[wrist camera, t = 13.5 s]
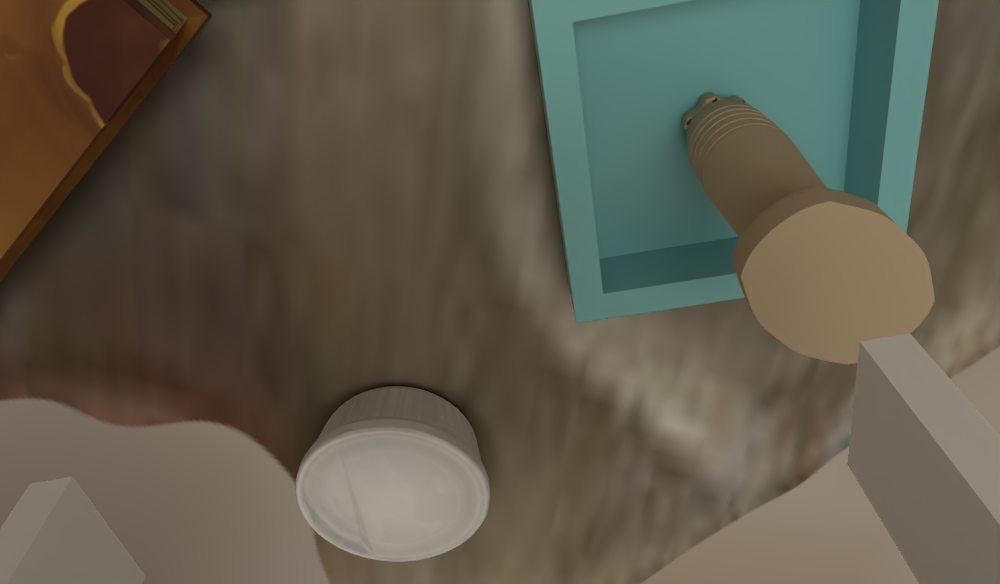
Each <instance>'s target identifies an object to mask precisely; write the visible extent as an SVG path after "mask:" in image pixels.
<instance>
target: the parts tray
mask: <svg viewBox="0 0 1000 584" xmlns="http://www.w3.org/2000/svg"><path fill="white" fill-rule="evenodd" d="M938 2H939V0H528V4H529V11H530V18H531V25H532V32H533V39H534V46H535V53H536V60H537V67H538V74H539V81H540V88H541V95H542V102H543V109H544V117H545V124H546V131H547V138H548V145H549V152H550V159H551V166H552V173H553V180H554V187H555V194H556V201H557V208H558V215H559V222H560V229H561V237H562V244H563V251H564V258H565V265H566V272H567V279H568V284H569V289H570V294H571V299H572V304H573V309H574V314H575V319H576V323H582V322H588V321H595V320H602V319H608V318H615V317H621V316H628V315H634V314H641V313H647V312H654V311H660V310H667V309H673V308H680V307H686V306H693V305H699V304H706V303H712V302H719V301H726V300H732V299H739V298H745V296H744V294H743V291H742V289H741V286H740V283H739V280H738V277H737V274H736V271H735V268H734V265H733V261H732V256H733V252H734V249H735V246H736V244H737V242H738V240H739V237H738V235H737V234H736V233H735V231H734V230H733V229H732V227H731V226H730V225H729V224H728V222H727V221H726V220H725V218H724V217H723V216H722V214H721V213H720V212H719V210H718V209H717V208H716V207H715V205H714V204H713V203H712V201H711V200H710V199H709V197H708V196H707V194H706V192H705V190H704V189H703V187H702V185H701V183H700V181H699V179H698V178H697V175H696V173H695V171H694V168H693V166H692V163H691V161H690V158H689V154H688V150H687V141H686V138H687V132H686V130H685V129H684V126H683V124H682V119H683V116H684V114H685V112H687V111H690V110H692V109H693V108H694V107H695V106H696V105H697V104H698V103H699V101H700V99H701V96H702V95H704V94H706V93H709V92H712V93H713V94H715V95H717V96H720V97H731V96H734V95H735V96H738V97H740V98H742V99H744V100H745V101H747V102H748V103H749V104H750V105H751V106H753V107H754V108H756V109H757V110H759V111H760V112H761V113H763V114H764V115H765V116H766V117H768V118H769V119H770V120H771V121H773V122H774V123H775V124H776V125H777V126H778V127H779V128H780V129H781V130H782V131H783V132H784V133H785V134H786V135H787V136H788V137H789V138H790V139H791V140H792V141H793V143H794V144H795V145H796V147H797V148H798V149H799V151H800V152H801V154H802V155H803V156H804V158H805V159H806V160H807V162H808V163H809V164H810V166H811V167H812V168H813V170H814V171H815V172H816V174H817V175H818V176H819V178H820V179H821V180H822V182H823V183H824V184H825V186H826V187H827V188H829V189H834V190H838V191H842V192H846V193H849V194H853V195H856V196H858V197H861V198H864V199H867V200H869V201H872V202H873V203H875V204H876V205H877V206H878V207H879V208H880V209H882V210H883V211H884V212H885V213H886V214H887V215H888V216H889V217H890V218H891V219H892V220H893V221H894V222H895V223H896V224H897V225H898V226H899V227H900V228H901V229H902V230H903V231H904V232H905V233H906V231H907V224H908V217H909V210H910V202H911V195H912V188H913V181H914V174H915V167H916V159H917V152H918V145H919V138H920V131H921V124H922V117H923V109H924V102H925V95H926V88H927V81H928V74H929V66H930V59H931V52H932V45H933V38H934V31H935V23H936V16H937V9H938Z"/></svg>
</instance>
